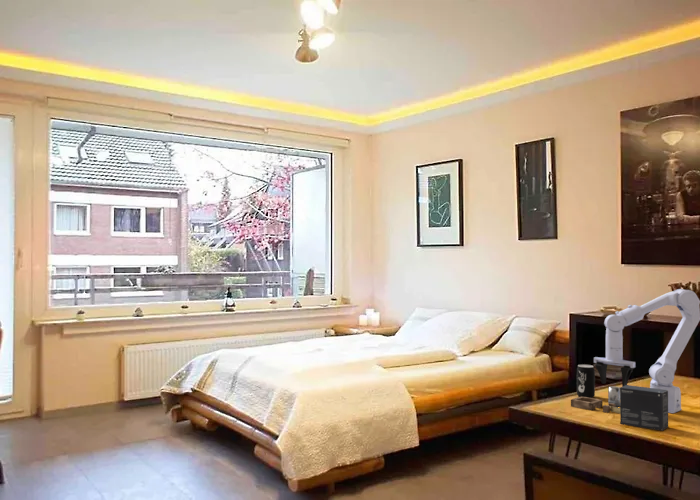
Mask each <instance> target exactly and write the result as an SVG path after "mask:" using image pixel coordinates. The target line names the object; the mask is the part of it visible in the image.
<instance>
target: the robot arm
mask: <svg viewBox="0 0 700 500" xmlns="http://www.w3.org/2000/svg"><path fill="white" fill-rule="evenodd" d="M666 306H670V307H671V306H672V307H674V306H675V307H676V308H677V309H678V310H679V313H680V314H681V320H680V322H679V323H678V325H677V327H676V329H675V331H674V332H673V334H672V336H671V339H670V340H669V341H668V344H667V345H666V348H665V349H664V351H663V353H662V355H661V356H659V357H658V359H657V360H656V361H655V363H654V364H652V365H651V366H650V368H649V369H648V373H649V376H650V378H651V380H650V383H649V388H655V389H663V390H668V414H669V413H670V414H675V413H677V412H680V411H682V392H681V388H680V387H679V386H675V385H674V384H673V382H674V380H675V373H676V370H677V364H678V360H679V359H680V357H681V355H682V353H683V352H684V350H685V348H686V347H687V344H688V343H689V341H690V339H691V338H692V335H693V333H694V332H695V330H696V328H697V326H698V324H699V323H700V298H699V297H698V295H697V293H695V291H693V290H691V289H683V288H678V289H675V290H673V291H669V292H666V293H664V294H662V295H659V296H657V297H656V298H654V299H651V300H649V301H648V302H645V303H643V304H642V305H637V304H633V305H632V304H629V305H627V307H626V308H625V309H622V310H620V311H618V310H617V311H615V312H614V313H615V314H609V315H607V316H606V318H605V319H604V322H603V325H604V326H605V329H606V330H605V357H598V356H595V357H593V363H595V366H594V367H595V368H596V370H597V372H598V375H599V377H600V381H601V384H603V385H604V384H607V372H608V371H607V370H608V366H609V365H610V366H611V365H612V366H618V367H619V366H620V371H621V385H622V386H621V387H623V386H625V385H628V383H629V382H628V381H629V379H630V376H631V375H632V373H633V370H634V369H635V368H636V361H631V360H626V359H624V357H623V355H624V354H623V346H624V345H623V342H624V340H623V339H624V336H623V330H624V329H625V327H628V326H631V325H633V324H634V323H637V322H639V321H641V320H643V319H644V318H645V317H644V316H645V315H646V314H648V313H651V312H654V311H656V310H658V309H660V308H663V307H666Z"/></svg>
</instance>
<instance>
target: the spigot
mask: <svg viewBox="0 0 700 500" xmlns="http://www.w3.org/2000/svg"><path fill="white" fill-rule="evenodd" d="M620 387H621V386H617V385H616V386H613V385H611V386H610V385H609V386H608V388H607V389H608V399H607V400H608V401H607V402H608V403H607V405H608V406H609V403H613V404H615V407H620Z"/></svg>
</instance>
